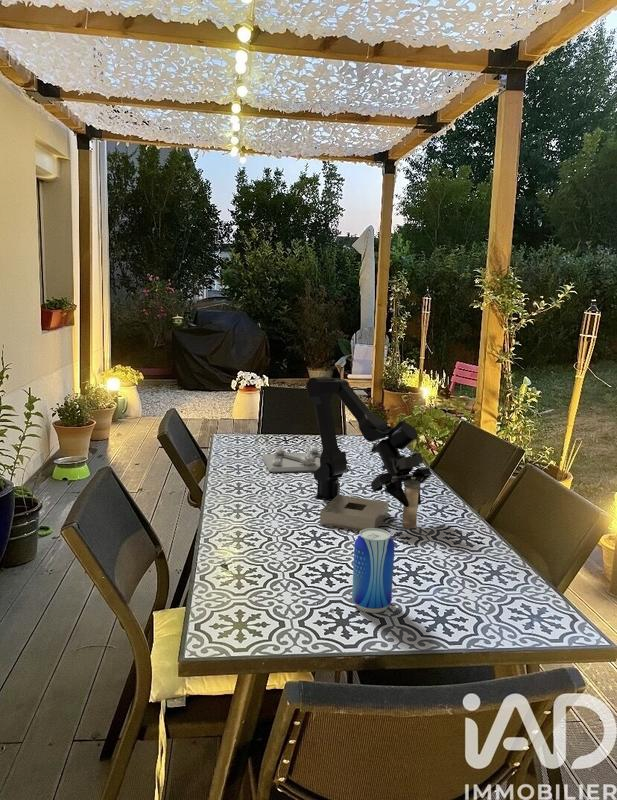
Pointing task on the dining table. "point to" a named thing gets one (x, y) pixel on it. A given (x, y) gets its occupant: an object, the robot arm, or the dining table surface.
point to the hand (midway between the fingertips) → (413, 505)
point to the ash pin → (410, 503)
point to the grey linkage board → (293, 461)
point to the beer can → (373, 570)
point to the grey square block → (354, 513)
